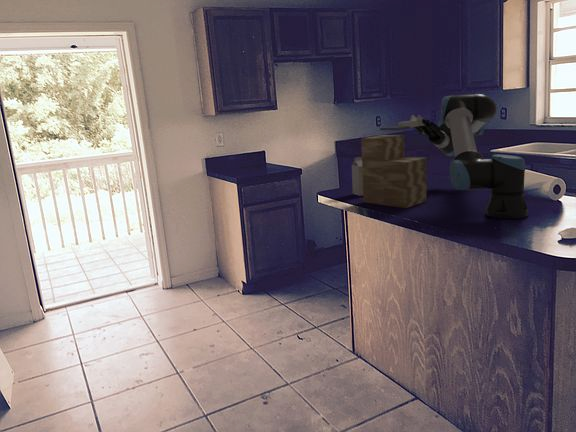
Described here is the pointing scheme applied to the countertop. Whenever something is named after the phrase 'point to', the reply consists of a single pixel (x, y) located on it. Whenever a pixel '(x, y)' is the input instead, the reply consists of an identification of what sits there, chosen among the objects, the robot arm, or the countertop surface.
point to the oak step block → (392, 173)
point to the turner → (403, 125)
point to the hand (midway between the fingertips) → (414, 117)
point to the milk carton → (357, 176)
